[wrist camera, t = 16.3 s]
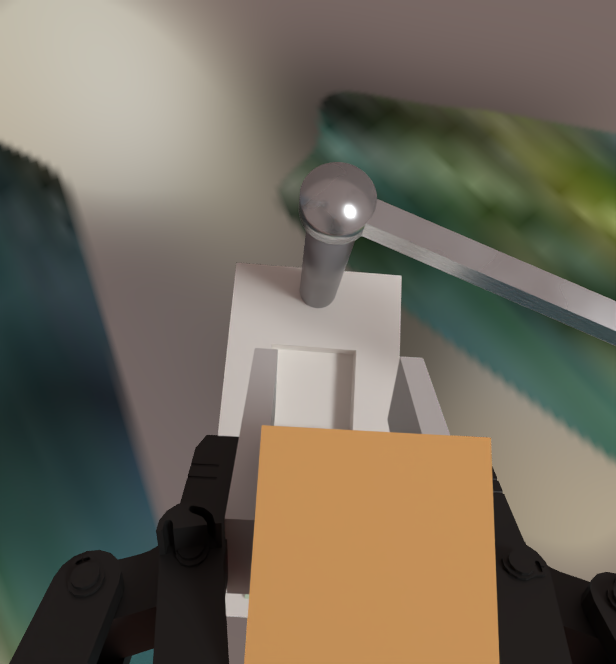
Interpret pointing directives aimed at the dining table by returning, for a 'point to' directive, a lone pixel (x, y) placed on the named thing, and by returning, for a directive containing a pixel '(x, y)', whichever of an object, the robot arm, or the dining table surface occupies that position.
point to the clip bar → (443, 249)
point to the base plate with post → (314, 346)
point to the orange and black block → (372, 549)
